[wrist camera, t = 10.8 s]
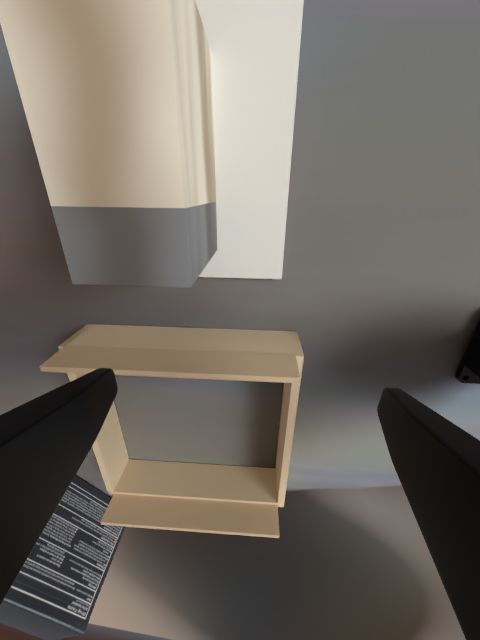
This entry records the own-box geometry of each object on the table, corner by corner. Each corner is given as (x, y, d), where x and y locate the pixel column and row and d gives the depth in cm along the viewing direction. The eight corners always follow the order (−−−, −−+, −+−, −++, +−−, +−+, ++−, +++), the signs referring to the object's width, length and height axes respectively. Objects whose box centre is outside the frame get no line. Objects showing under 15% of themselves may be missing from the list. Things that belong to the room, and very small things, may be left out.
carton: (297, 330, 21) (310, 378, 15) (280, 472, 28) (286, 538, 23) (86, 322, 22) (29, 365, 16) (124, 463, 29) (94, 524, 24)
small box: (35, 485, 32) (-57, 606, 23) (64, 465, 30) (-24, 588, 21) (103, 526, 35) (48, 647, 26) (134, 510, 33) (86, 635, 24)
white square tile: (302, 0, 13) (303, -7, 13) (280, 276, 19) (281, 279, 19) (29, 7, 14) (22, 1, 13) (93, 272, 20) (89, 274, 19)
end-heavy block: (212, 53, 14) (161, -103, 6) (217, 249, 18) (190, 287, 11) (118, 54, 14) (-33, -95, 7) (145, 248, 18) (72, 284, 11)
